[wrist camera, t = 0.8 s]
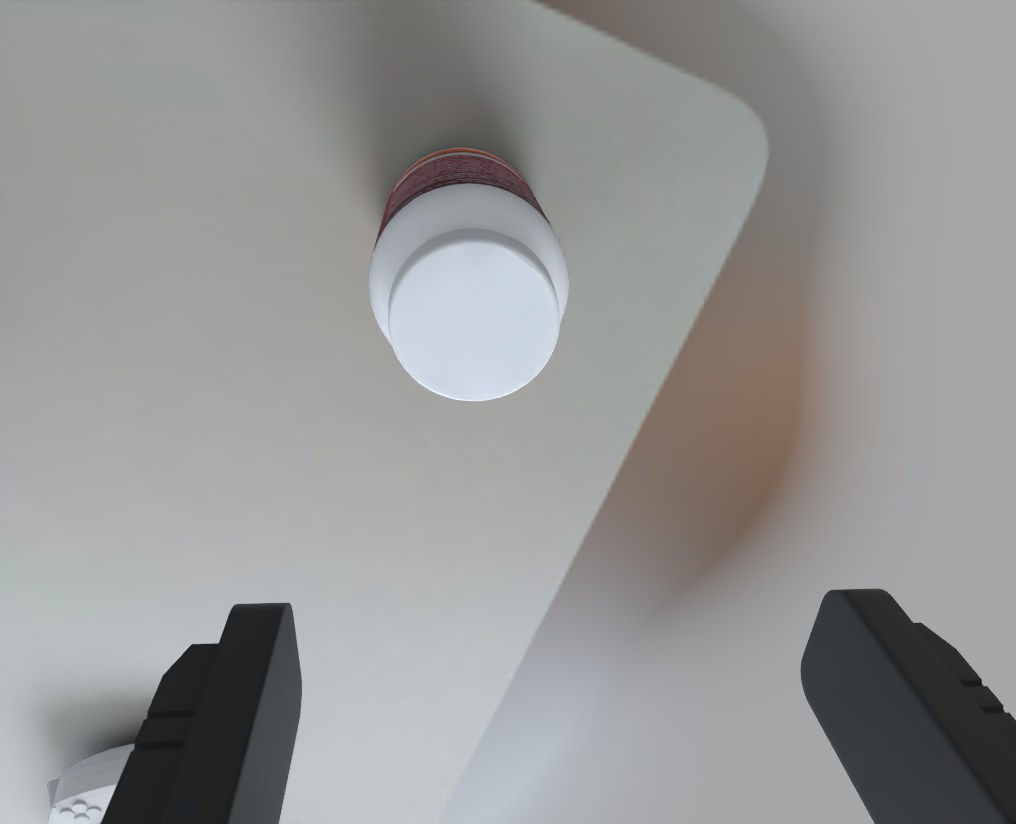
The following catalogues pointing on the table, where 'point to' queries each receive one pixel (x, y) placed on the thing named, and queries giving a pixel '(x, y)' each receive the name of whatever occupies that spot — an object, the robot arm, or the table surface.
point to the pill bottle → (468, 276)
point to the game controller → (87, 787)
